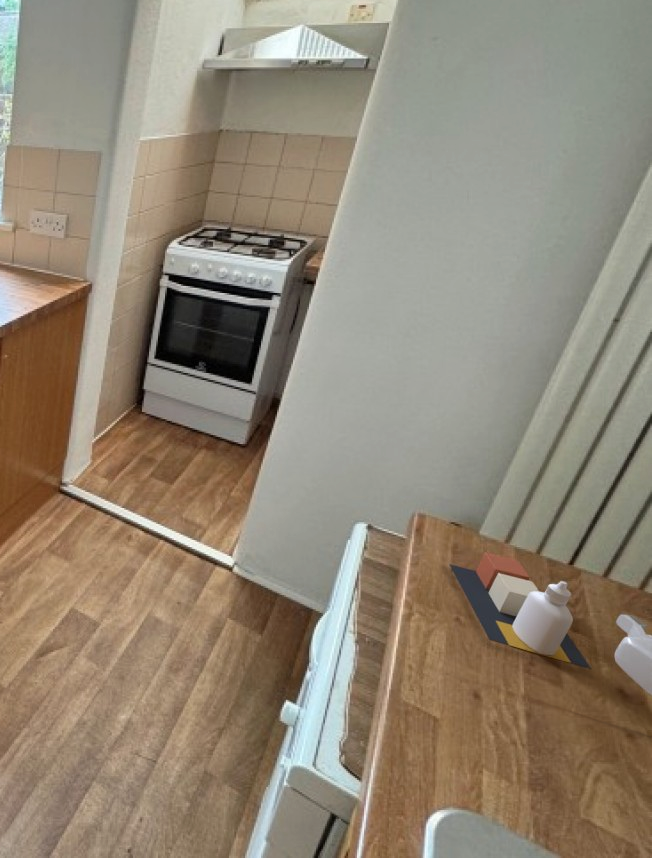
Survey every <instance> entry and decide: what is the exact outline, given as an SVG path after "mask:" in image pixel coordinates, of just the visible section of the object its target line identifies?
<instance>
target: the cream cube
mask: <svg viewBox="0 0 652 858" xmlns="http://www.w3.org/2000/svg"><path fill="white" fill-rule="evenodd" d="M533 591H538V592H540V591H539V589H538V587H537V586H536V584H535V583H534V582H533V581H531V580H524V579H520V578H516V577H512V576H508V575H504V574H500V573H498V574H497V576H496V579H495V581H494V583H493V585H492V587H491V589H490V591H489V595H490V597H491V598H492V600H493V602H494V603H495V605H496V607H497V609H498V610H499V612H502V613H505V614H509V615H513V616H516V617H517V615H518V613H519V611H520V609H521V607H522V606H523V604H524V602H525V600H526V598H527V597H528V595H529V593H530V592H533Z"/></svg>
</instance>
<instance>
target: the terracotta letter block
mask: <svg viewBox="0 0 652 858" xmlns="http://www.w3.org/2000/svg"><path fill="white" fill-rule="evenodd" d="M475 571H476V573H477V574H478V576H479V578H480V580H481V581H482V583H483V585H484V586H485V588H486V589H489V590H490V589H491V587H492V585H493V583H494V581H495V579H496V576H497V574H498V573H500V574H504V575H508V576H512V577H516V578H520V579H524V580H528V581H530V578H531V577H530V576H529V574H528V573H527V571H526V570H525V568H524V567H523V566H522V564H521V562H520V561H519V560H518V559H514V558H511V557H507V556H503V555H498V554H494V553H492V552H491V553H490V552H487V551H484V553H483V556H482V557H481V559H480V562H479V564H478V566H477V568H476V570H475Z"/></svg>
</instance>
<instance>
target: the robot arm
mask: <svg viewBox="0 0 652 858" xmlns="http://www.w3.org/2000/svg"><path fill="white" fill-rule="evenodd" d="M615 623H616V625H617V626H618V627H619V628H620V629H621V630H622V631H624V632H625V633H626V634H627V636H624V637H623V638H622V640H621V641H620V642H619V644H618V646H617V647H616V649H615V651H614V656H613V657H614V660H615V663H616V665H618V667H619V668H620V669H621V670H622V671H623V672H624V673H625V674H626V675H627V676H628V677H630V678H631V679H632V680H633V681H634V682H635V683H636V684H637V685H638V686H639V687H641V688H642V690H644V691H645V692H646V693H647V694H649V696H651V697H652V634H647V633H646V632H645V630H646V629H647V627H648V624H646V623H645V622H644V621H643V620H641V619H640V618H639V617H638V616H637V615H630V614H619V616H618V617H617V619H616V621H615Z"/></svg>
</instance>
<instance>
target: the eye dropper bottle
mask: <svg viewBox="0 0 652 858" xmlns="http://www.w3.org/2000/svg"><path fill="white" fill-rule="evenodd" d="M567 587H568V583H567V582H566V581H563V580H560V581H559V582H558V583H557V584H556V583H550V584H548V585H547V587H546V589H545V591H539V592H538V591H533V592H530V593H529V595H528V597H527V598H526V600H525V602H524V604H523V606H522V607H521V609H520V611H519V613H518V615H517V617H516V619H515V621H514V623H513V625H512V627H513V630H514V632H515V633H516V635H517V636H518V637H519V638H520V640H521V641H522V642H524V643H525V644H526V645H527V646H528V647H530V648H531V649H532V650H534V651H535V652H537V653H539V654H538V655H540V654H543V655H542V656H544V655H554V654H555V653H556V651H557V649H558V648H559V646H560V644H561V642H562V641H563V639H564V637H565V635H566V634H568V632H569V630H570V628H571V626H572V624H573V622H574V619H573V615H572V613H571V611H570V609H569V608H568V606H567V604H568V602H569V600H570V599H571V597H572V593H571V592H570V590H569V589H567ZM537 653H536V654H537Z"/></svg>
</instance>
